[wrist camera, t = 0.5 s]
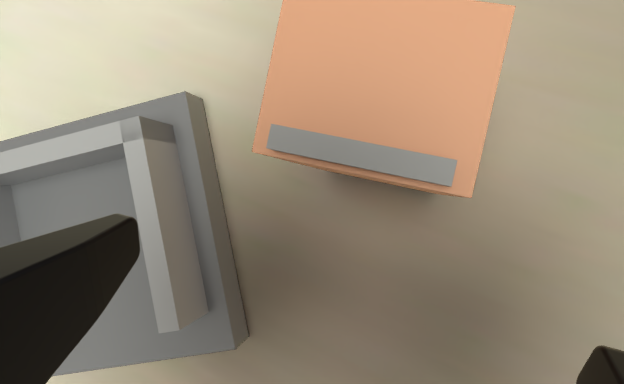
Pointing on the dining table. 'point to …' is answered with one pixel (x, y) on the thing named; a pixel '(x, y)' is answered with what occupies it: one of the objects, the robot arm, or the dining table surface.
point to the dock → (151, 225)
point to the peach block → (385, 89)
